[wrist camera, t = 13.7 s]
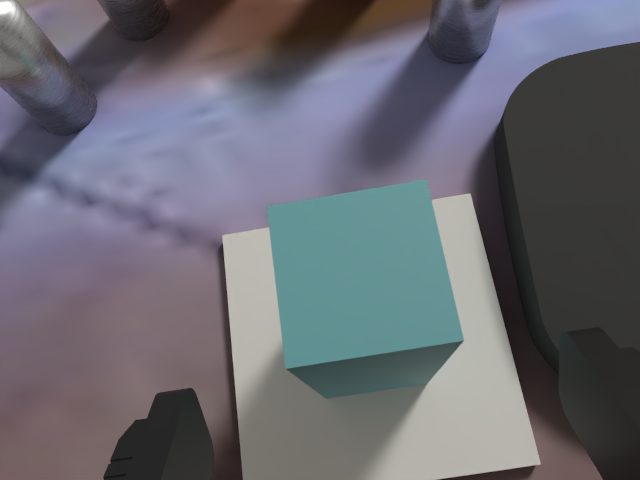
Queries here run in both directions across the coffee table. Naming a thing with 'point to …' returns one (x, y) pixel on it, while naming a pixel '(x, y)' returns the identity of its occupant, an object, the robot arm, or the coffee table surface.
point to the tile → (386, 405)
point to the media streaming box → (575, 195)
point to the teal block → (363, 289)
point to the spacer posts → (149, 19)
